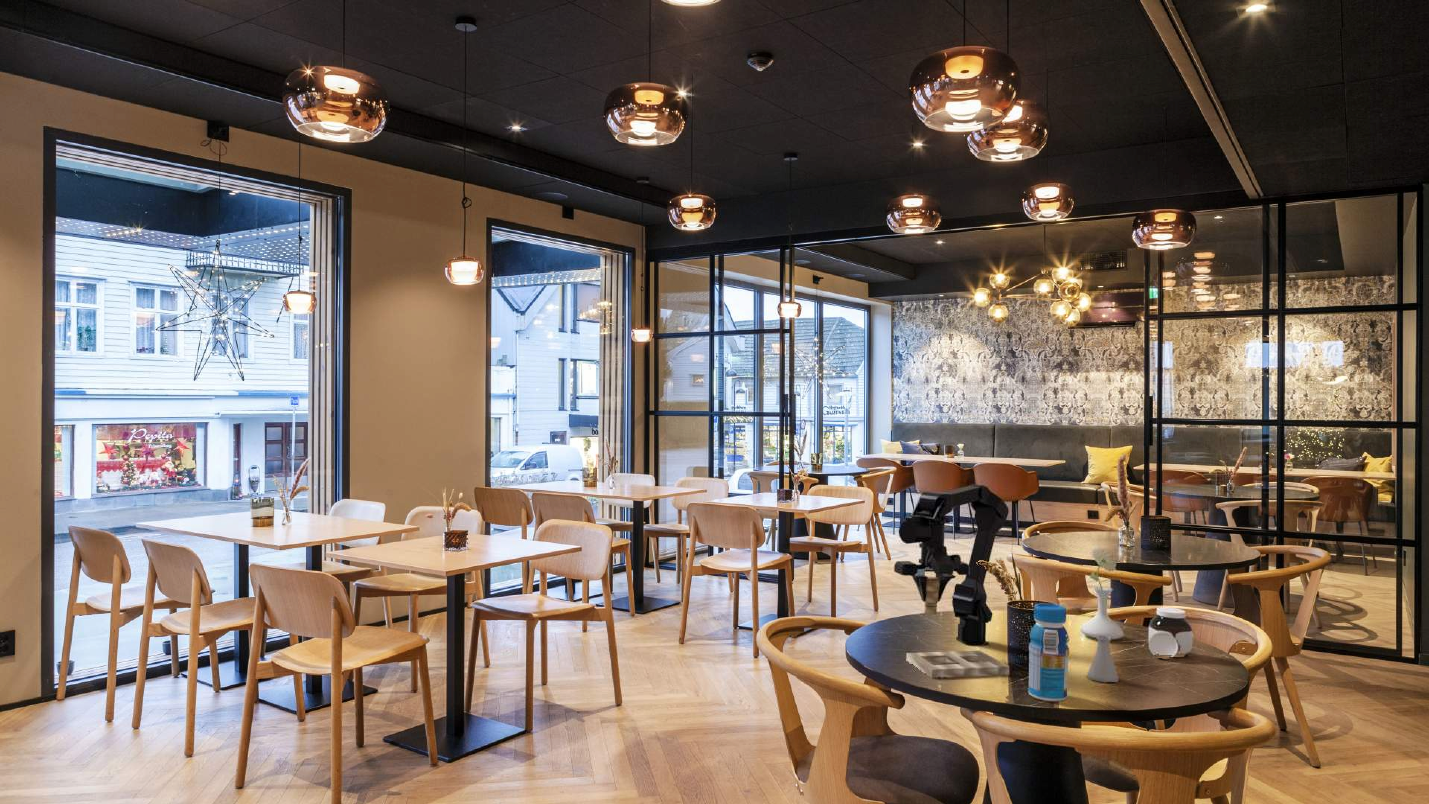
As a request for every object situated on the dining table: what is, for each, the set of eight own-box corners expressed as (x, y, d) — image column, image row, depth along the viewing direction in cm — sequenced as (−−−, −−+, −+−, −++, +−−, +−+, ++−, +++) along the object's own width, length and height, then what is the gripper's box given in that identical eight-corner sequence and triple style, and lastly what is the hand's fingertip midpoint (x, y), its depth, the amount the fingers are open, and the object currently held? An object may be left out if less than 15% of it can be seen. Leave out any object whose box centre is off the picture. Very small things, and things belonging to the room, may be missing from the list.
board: (979, 658, 235) (979, 649, 235) (1009, 674, 222) (1009, 665, 222) (906, 661, 231) (906, 652, 231) (931, 678, 217) (932, 668, 217)
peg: (934, 611, 242) (935, 576, 242) (941, 614, 239) (942, 579, 239) (919, 611, 242) (921, 576, 242) (926, 615, 238) (928, 579, 238)
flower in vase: (1130, 643, 255) (1133, 552, 254) (1089, 642, 255) (1091, 551, 255) (1111, 631, 268) (1113, 544, 267) (1071, 630, 268) (1074, 543, 268)
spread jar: (1183, 651, 248) (1185, 607, 248) (1201, 663, 237) (1203, 617, 237) (1137, 649, 249) (1138, 605, 249) (1152, 660, 238) (1154, 615, 238)
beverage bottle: (1019, 694, 207) (1022, 604, 207) (1042, 688, 212) (1045, 600, 212) (1052, 705, 200) (1055, 612, 200) (1075, 698, 205) (1078, 608, 205)
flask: (1122, 685, 216) (1123, 642, 216) (1089, 682, 218) (1090, 639, 218) (1115, 676, 223) (1116, 634, 223) (1083, 673, 225) (1085, 632, 225)
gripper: (912, 546, 230) (910, 609, 230) (981, 545, 234) (979, 607, 234) (894, 539, 241) (892, 599, 241) (960, 539, 245) (958, 598, 245)
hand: (930, 601), depth 240 cm, fingers closed on peg, 4 cm apart
